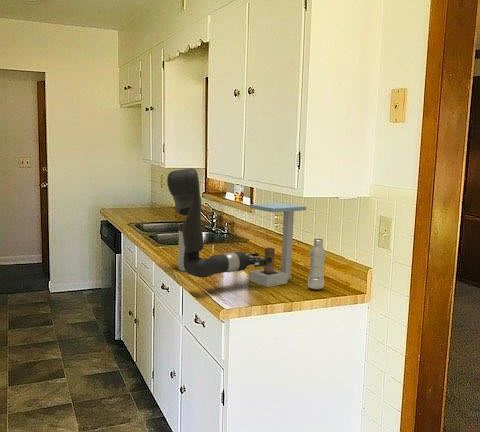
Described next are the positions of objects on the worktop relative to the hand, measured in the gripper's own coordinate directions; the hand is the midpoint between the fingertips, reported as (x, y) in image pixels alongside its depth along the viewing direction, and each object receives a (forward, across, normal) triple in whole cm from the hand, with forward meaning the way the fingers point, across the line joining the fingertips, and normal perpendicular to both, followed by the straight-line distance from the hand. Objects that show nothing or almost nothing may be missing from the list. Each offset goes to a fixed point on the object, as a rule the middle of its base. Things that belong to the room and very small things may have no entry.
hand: (264, 257), depth 212 cm
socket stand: (+6, 0, +10) cm, 12 cm away
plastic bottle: (+12, -18, +11) cm, 24 cm away
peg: (+2, 0, +10) cm, 11 cm away
